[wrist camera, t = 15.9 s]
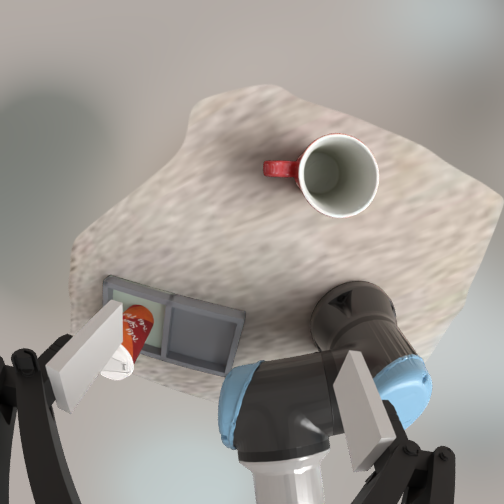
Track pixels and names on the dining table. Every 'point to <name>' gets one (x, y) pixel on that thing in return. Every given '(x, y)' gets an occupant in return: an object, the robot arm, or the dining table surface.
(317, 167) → the mug
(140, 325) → the paper cup
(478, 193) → the dining table surface
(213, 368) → the cup carrier
